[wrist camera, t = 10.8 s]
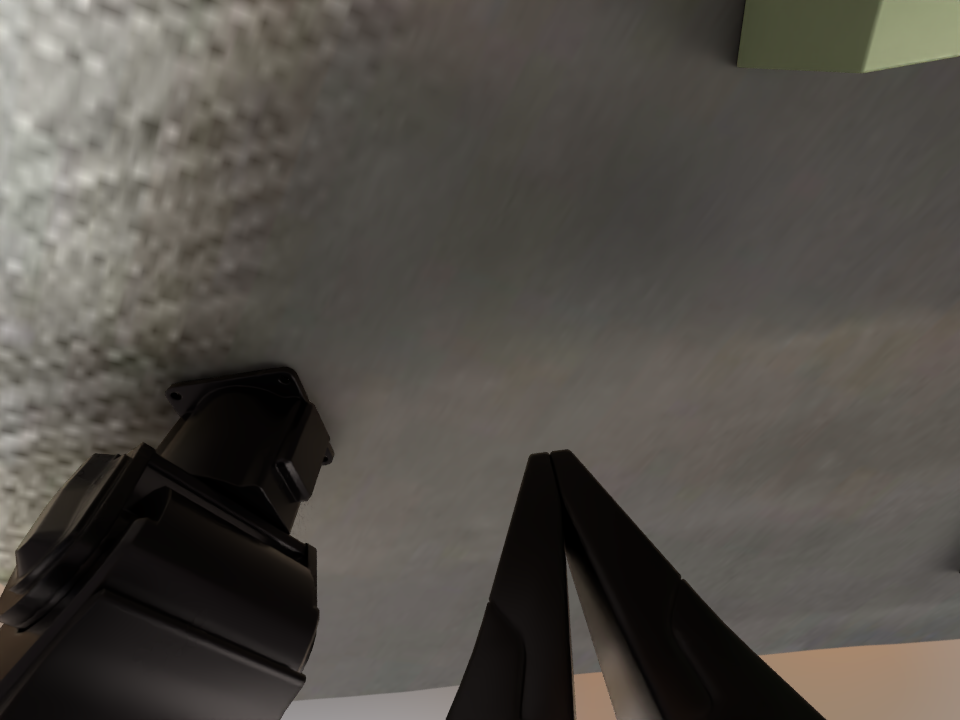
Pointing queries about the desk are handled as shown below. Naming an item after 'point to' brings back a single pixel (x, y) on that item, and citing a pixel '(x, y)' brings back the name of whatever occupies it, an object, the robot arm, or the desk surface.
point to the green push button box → (847, 34)
